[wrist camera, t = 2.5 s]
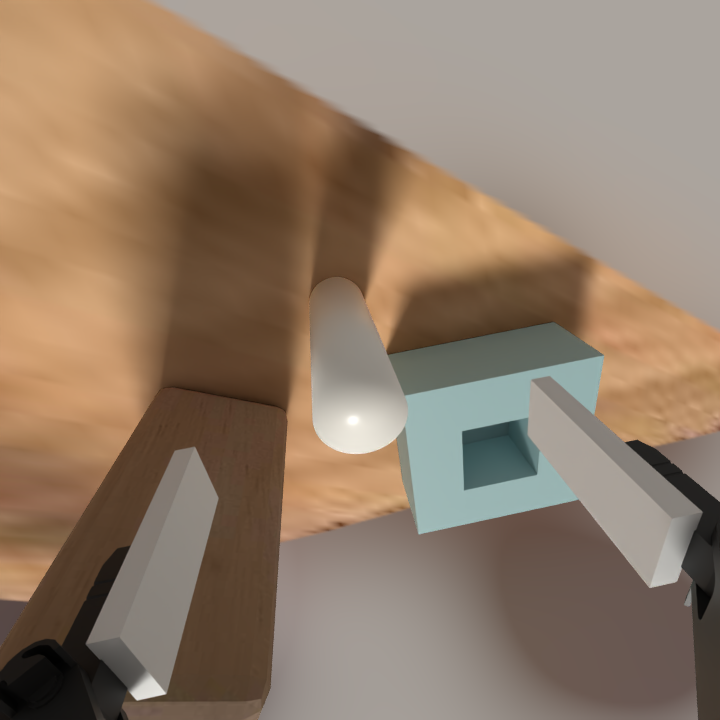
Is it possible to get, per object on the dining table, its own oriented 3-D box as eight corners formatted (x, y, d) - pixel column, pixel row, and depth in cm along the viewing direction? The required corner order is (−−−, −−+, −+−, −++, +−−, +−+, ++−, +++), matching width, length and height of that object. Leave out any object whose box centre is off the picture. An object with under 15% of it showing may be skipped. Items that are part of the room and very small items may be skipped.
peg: (303, 282, 27) (302, 385, 15) (359, 272, 28) (403, 366, 15) (315, 333, 29) (323, 462, 17) (367, 323, 29) (412, 443, 17)
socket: (384, 355, 31) (401, 396, 26) (554, 321, 31) (604, 355, 26) (402, 481, 38) (418, 534, 32) (541, 451, 38) (579, 499, 33)
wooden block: (290, 404, 32) (273, 707, 14) (265, 491, 36) (229, 810, 18) (160, 379, 29) (-52, 709, 12) (149, 476, 34) (-21, 828, 16)
